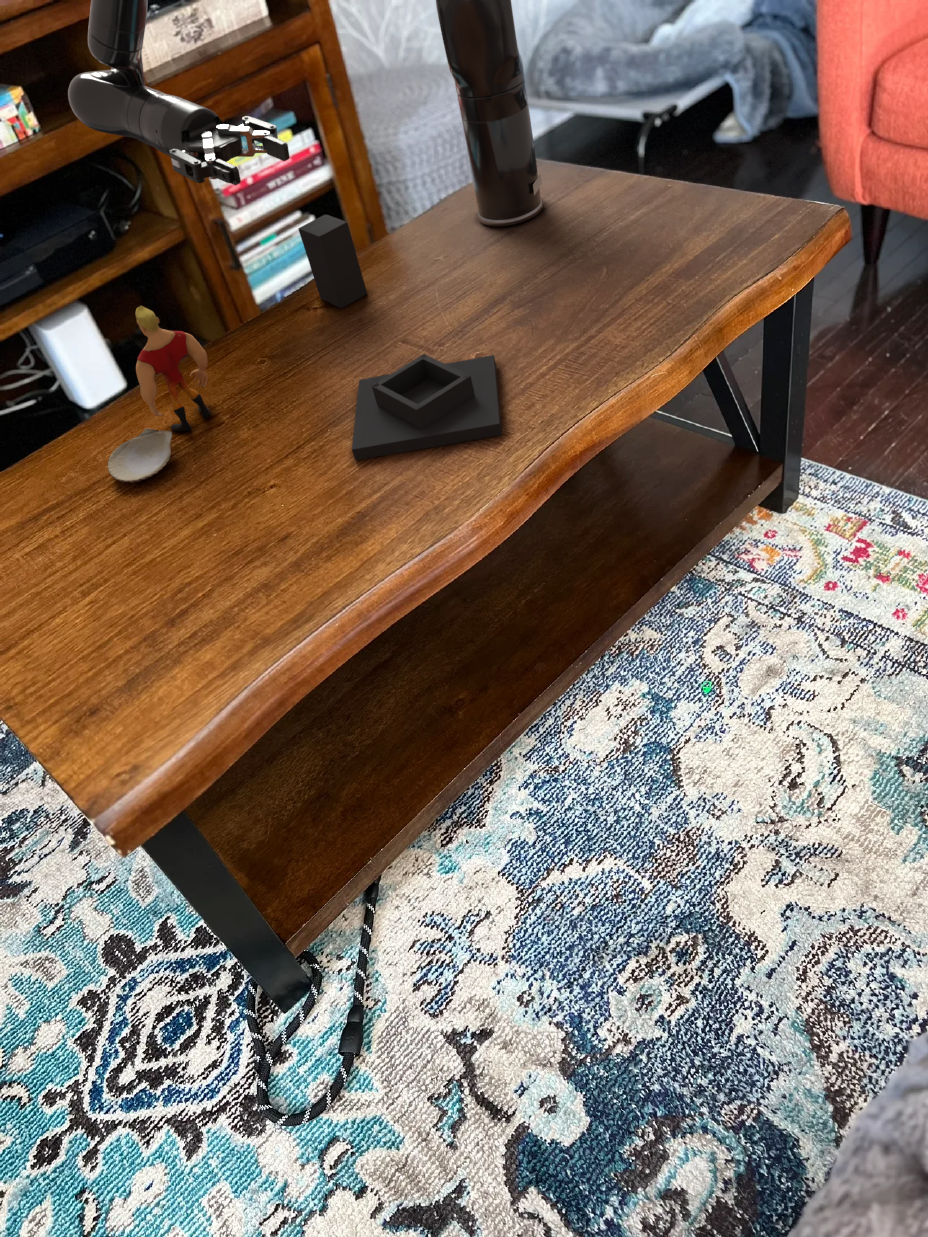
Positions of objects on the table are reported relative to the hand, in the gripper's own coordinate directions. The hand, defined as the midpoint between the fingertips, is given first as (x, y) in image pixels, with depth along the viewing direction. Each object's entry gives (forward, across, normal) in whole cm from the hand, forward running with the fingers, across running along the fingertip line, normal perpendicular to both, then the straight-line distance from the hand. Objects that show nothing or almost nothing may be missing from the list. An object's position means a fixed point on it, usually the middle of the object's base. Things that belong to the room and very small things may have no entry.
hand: (262, 164), depth 124 cm
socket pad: (+41, -15, +10) cm, 45 cm away
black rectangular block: (+12, +1, +15) cm, 19 cm away
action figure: (+15, -29, +16) cm, 37 cm away
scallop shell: (+18, -38, +16) cm, 45 cm away
